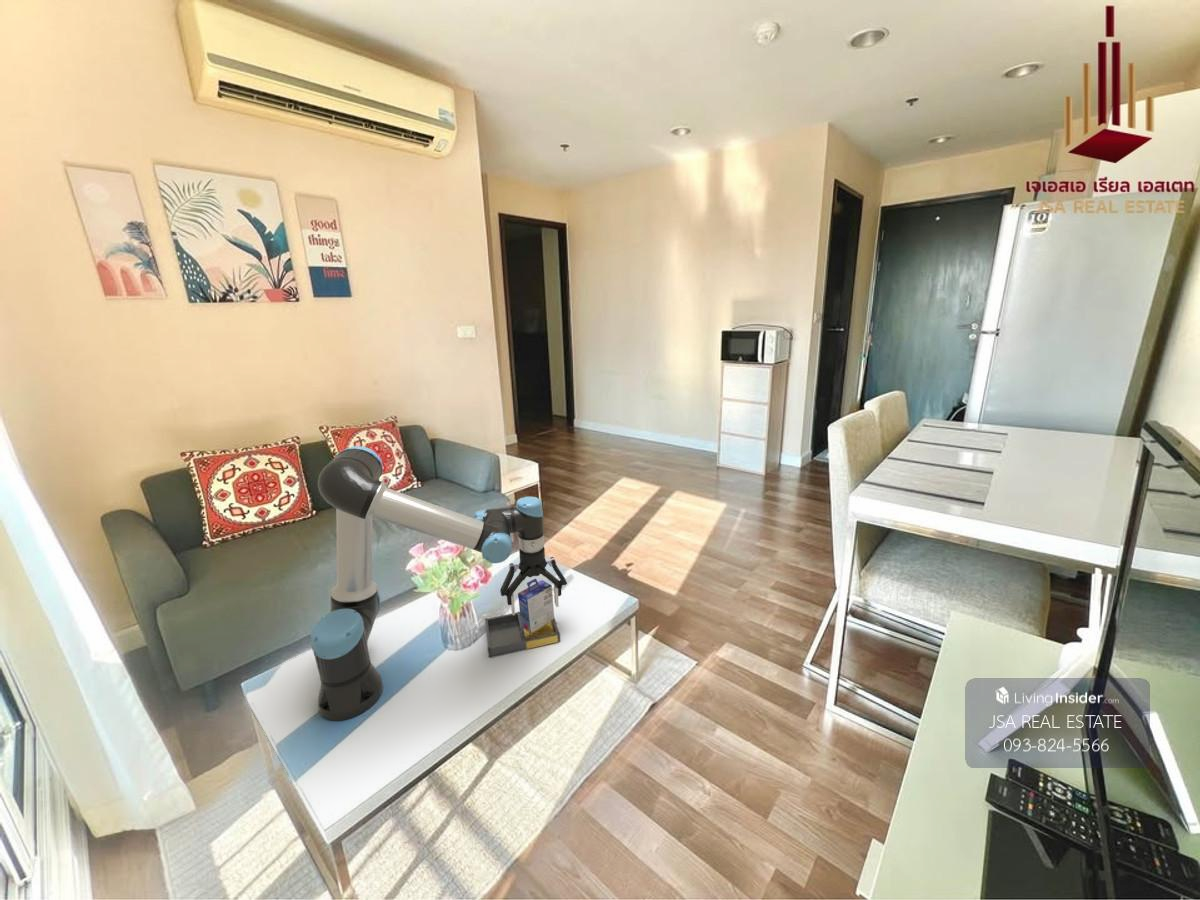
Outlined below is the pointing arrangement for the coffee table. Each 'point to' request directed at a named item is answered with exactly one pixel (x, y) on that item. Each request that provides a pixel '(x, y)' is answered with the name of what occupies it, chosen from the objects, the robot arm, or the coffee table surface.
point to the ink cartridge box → (536, 605)
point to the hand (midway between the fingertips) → (535, 608)
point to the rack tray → (516, 635)
